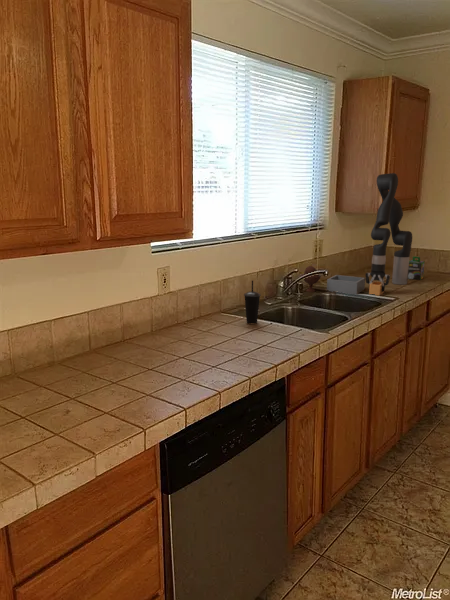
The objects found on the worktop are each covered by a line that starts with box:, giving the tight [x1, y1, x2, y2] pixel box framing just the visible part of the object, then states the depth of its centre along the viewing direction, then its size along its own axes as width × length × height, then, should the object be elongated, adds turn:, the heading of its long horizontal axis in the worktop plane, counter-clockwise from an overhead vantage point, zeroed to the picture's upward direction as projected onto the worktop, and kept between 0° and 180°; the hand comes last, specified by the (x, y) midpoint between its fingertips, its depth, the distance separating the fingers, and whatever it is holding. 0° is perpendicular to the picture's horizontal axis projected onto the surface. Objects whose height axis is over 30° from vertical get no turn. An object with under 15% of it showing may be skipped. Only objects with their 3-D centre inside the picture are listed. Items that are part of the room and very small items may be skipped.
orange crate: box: [368, 280, 385, 296], centre depth 298 cm, size 10×6×6 cm, turn 149°
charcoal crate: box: [326, 274, 366, 295], centre depth 306 cm, size 16×18×7 cm
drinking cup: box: [243, 280, 261, 324], centre depth 236 cm, size 8×8×20 cm
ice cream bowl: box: [301, 265, 322, 293], centre depth 303 cm, size 11×11×15 cm
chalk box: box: [408, 256, 425, 281], centre depth 340 cm, size 9×9×15 cm
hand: (376, 291), depth 299 cm, fingers closed on orange crate, 6 cm apart
